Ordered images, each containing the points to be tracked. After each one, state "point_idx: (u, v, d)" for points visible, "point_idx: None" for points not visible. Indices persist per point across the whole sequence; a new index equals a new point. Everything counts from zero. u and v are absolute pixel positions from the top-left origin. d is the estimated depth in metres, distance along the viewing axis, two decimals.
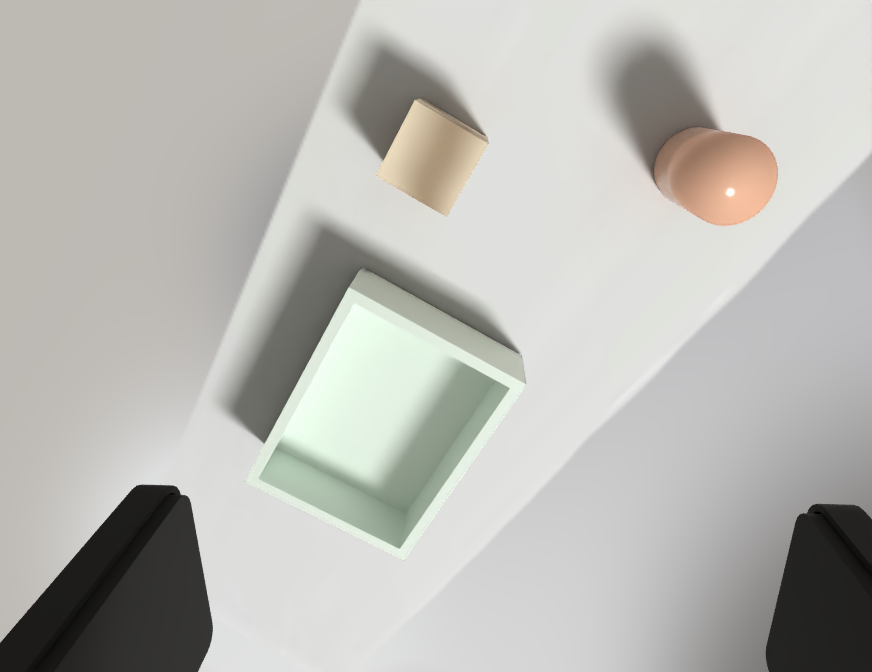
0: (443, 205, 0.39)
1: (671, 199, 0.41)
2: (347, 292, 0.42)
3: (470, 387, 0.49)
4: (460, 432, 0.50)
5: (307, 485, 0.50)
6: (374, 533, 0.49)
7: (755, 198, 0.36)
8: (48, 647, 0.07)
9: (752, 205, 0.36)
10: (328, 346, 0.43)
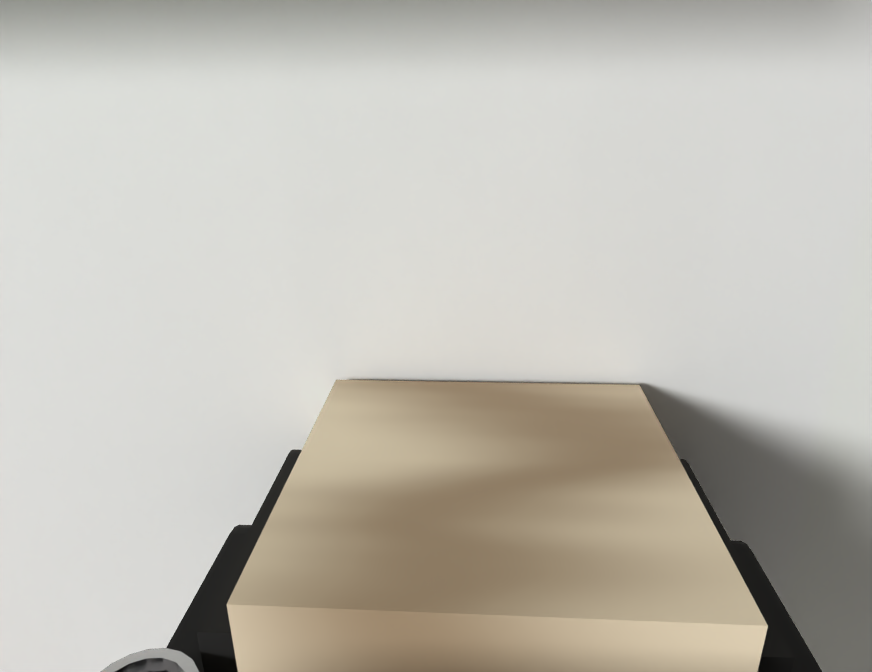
0: (283, 648, 0.06)
1: None
2: None
3: None
4: None
5: None
6: None
7: None
8: None
9: None
10: None
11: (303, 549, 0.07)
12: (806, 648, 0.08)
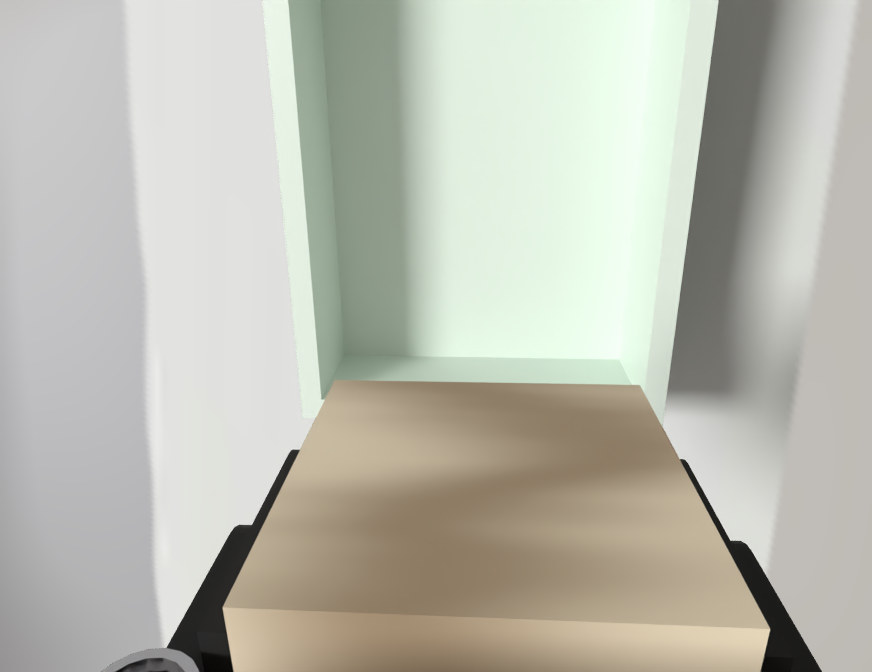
0: (280, 651, 0.06)
1: None
2: (661, 417, 0.24)
3: (369, 285, 0.27)
4: (333, 198, 0.26)
5: None
6: None
7: None
8: None
9: None
10: (657, 312, 0.22)
11: (300, 551, 0.07)
12: (806, 648, 0.08)
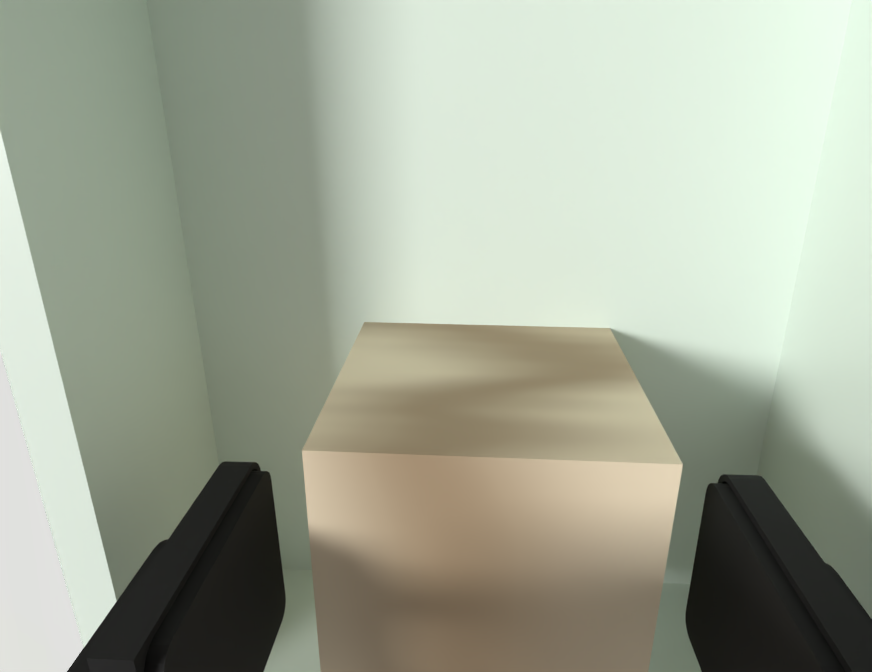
0: (340, 484, 0.09)
1: None
2: None
3: (273, 455, 0.15)
4: (191, 302, 0.13)
5: None
6: None
7: None
8: (171, 602, 0.07)
9: None
10: None
11: (352, 422, 0.09)
12: None
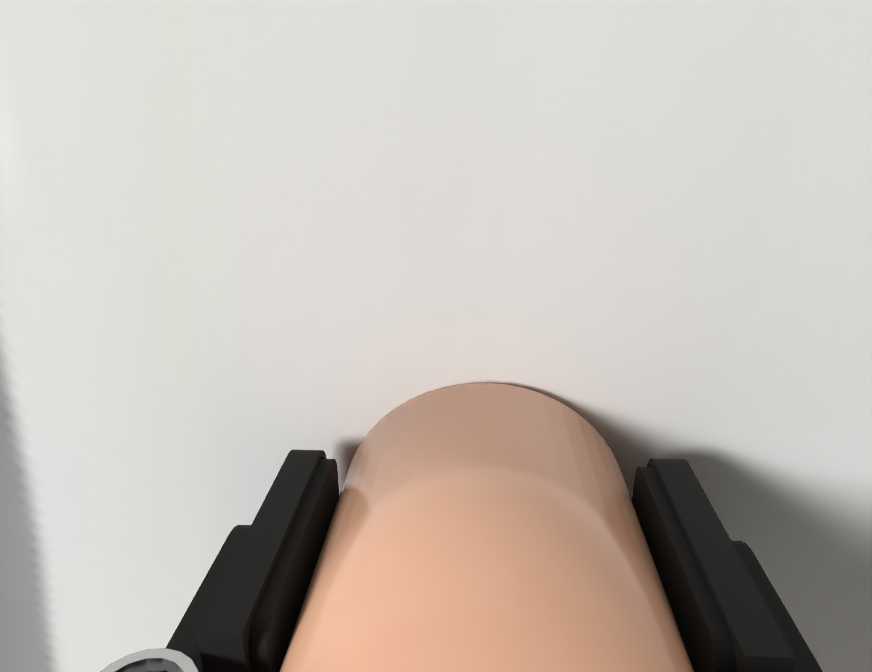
0: None
1: (530, 456, 0.09)
2: None
3: None
4: None
5: None
6: None
7: None
8: (266, 581, 0.08)
9: None
10: None
11: None
12: (806, 648, 0.08)
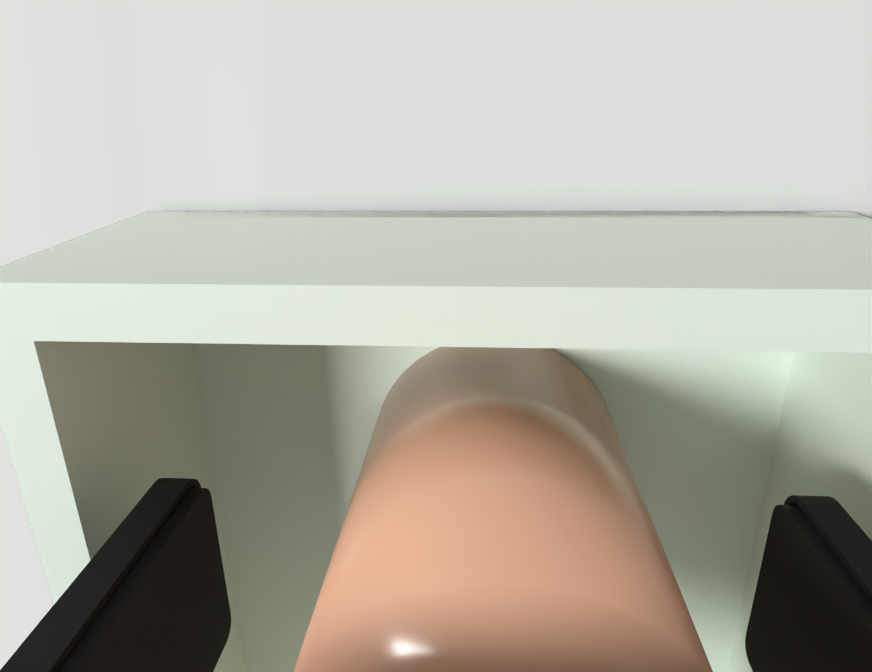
0: None
1: (529, 382, 0.11)
2: None
3: None
4: (235, 619, 0.16)
5: None
6: None
7: None
8: (81, 634, 0.07)
9: None
10: None
11: None
12: None
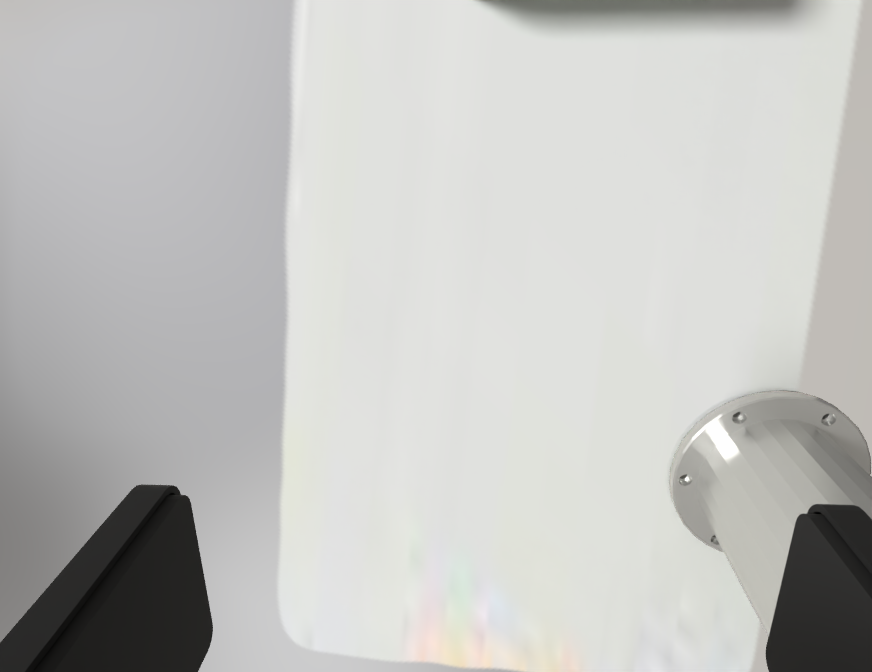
0: None
1: None
2: None
3: None
4: None
5: None
6: None
7: None
8: (48, 647, 0.07)
9: None
10: None
11: None
12: None
